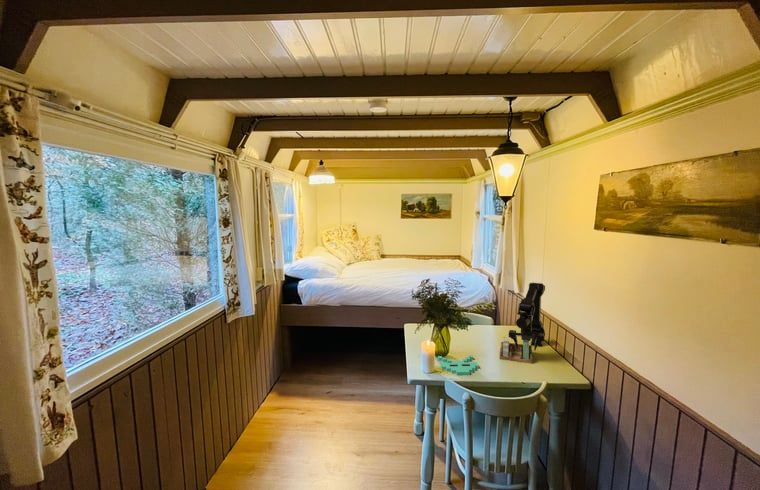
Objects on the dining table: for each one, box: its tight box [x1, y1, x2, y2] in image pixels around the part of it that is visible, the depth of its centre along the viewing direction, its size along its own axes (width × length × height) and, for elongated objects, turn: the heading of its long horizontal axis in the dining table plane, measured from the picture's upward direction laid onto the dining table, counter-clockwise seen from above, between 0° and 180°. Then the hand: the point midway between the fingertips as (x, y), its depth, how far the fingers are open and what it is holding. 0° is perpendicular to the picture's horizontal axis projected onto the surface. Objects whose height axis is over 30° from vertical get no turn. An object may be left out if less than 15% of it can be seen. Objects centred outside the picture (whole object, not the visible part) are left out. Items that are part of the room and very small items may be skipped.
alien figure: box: [437, 354, 480, 376], centre depth 185 cm, size 20×2×20 cm
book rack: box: [499, 338, 533, 365], centre depth 196 cm, size 14×17×8 cm
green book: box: [522, 340, 530, 360], centre depth 193 cm, size 10×3×8 cm, turn 156°
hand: (525, 349), depth 193 cm, fingers open, 9 cm apart
